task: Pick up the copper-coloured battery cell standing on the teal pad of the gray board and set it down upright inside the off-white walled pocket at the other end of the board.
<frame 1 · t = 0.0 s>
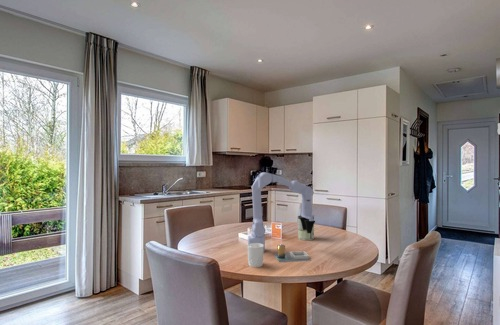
hand: (307, 231, 163), 10 cm above the table, tool pointing down, fingers open, 7 cm apart
cell: (281, 257, 147), point 1 cm above the table, touching gray board
gray board: (291, 258, 148), on the table
white cup: (255, 266, 137), on the table
coffee can: (306, 238, 187), on the table
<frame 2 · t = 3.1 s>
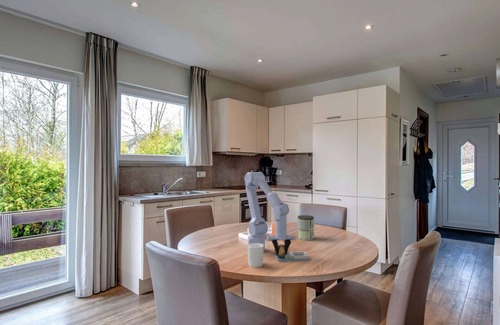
hand: (281, 254, 147), 2 cm above the table, tool pointing down, fingers closed on cell, 4 cm apart
cell: (281, 257, 147), point 1 cm above the table, touching gray board, gripper
everything else where it was.
when the fingers open (4 cm above the table, at t = 6.4 s): cell drops 1 cm, resting on gray board.
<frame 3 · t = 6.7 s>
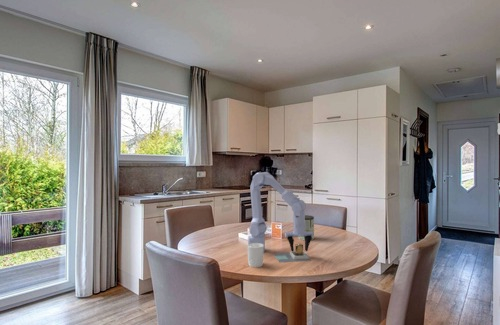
hand: (299, 250, 148), 4 cm above the table, tool pointing down, fingers open, 7 cm apart
cell: (299, 256, 148), point 1 cm above the table, touching gray board
everything else where it was.
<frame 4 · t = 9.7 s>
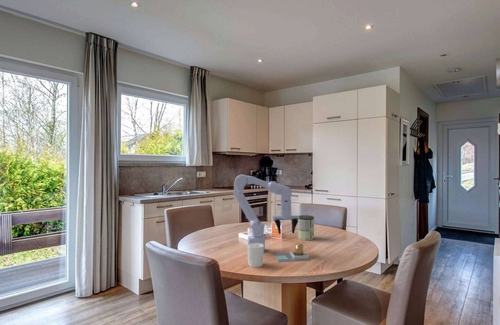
hand: (286, 233, 158), 10 cm above the table, tool pointing down, fingers open, 7 cm apart
nothing on the table moved.
at the end: cell 0.1 cm from the target spot on the gray board, point 0.8 cm above the gray board's base; cell tilted 0°; the gripper is holding nothing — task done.
